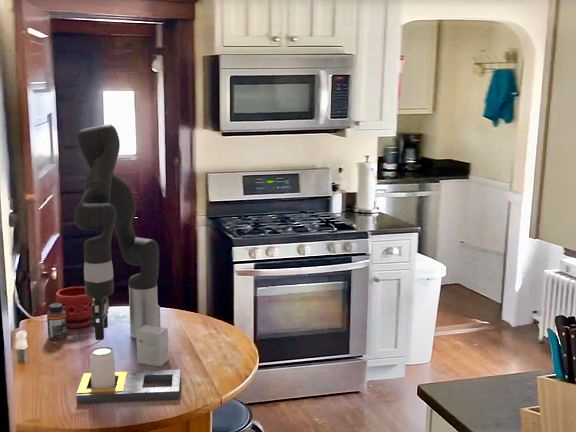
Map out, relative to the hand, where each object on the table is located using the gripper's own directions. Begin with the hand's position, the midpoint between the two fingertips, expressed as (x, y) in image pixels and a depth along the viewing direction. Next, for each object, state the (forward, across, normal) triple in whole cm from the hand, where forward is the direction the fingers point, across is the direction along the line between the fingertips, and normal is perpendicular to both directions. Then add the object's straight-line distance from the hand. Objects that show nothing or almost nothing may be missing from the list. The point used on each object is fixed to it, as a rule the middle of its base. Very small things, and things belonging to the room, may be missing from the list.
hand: (101, 333), depth 192 cm
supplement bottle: (+18, -42, -20) cm, 50 cm away
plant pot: (+18, -54, -16) cm, 59 cm away
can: (+17, 0, 0) cm, 17 cm away
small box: (+18, -19, +12) cm, 29 cm away
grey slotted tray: (+17, 0, +7) cm, 19 cm away
